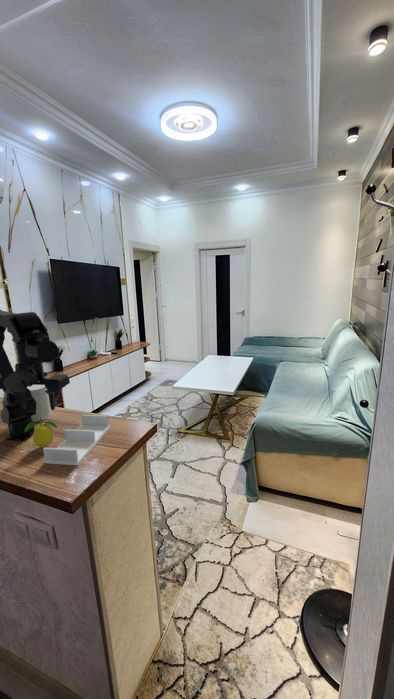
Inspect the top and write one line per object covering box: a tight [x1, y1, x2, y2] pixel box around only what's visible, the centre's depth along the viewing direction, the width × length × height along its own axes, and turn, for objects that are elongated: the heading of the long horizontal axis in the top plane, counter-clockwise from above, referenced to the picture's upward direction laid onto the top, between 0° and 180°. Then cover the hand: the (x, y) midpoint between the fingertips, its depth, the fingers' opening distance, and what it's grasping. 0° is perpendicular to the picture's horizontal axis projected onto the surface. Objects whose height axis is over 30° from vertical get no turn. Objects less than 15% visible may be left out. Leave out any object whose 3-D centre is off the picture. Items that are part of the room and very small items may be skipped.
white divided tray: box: [43, 414, 111, 466], centre depth 89 cm, size 10×21×4 cm, turn 172°
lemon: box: [24, 417, 58, 448], centre depth 87 cm, size 7×6×10 cm
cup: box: [27, 385, 53, 422], centre depth 107 cm, size 8×8×12 cm
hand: (38, 409), depth 85 cm, fingers open, 9 cm apart
